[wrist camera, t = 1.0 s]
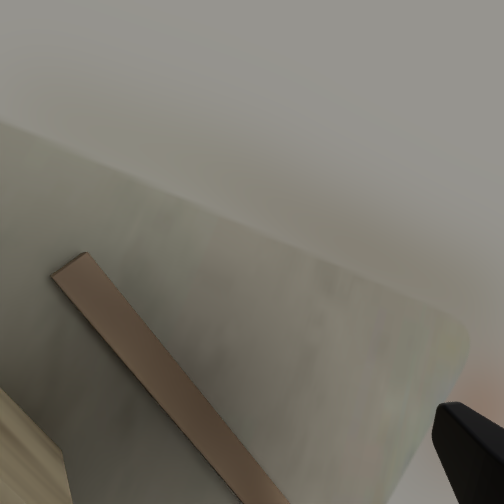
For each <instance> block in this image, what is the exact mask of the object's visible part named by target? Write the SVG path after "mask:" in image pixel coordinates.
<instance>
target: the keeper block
mask: <svg viewBox="0 0 504 504" xmlns="http://www.w3.org/2000/svg"><path fill="white" fill-rule="evenodd" d="M0 504H73V502H72V498H71V493H70V488H69V483H68V479H67V474H66V469H65V464H64V460H63V455H62V450H61V449H60V448H59V447H58V446H57V445H56V444H55V443H54V442H53V441H52V440H51V439H50V438H49V437H48V436H47V435H46V434H45V433H44V432H43V431H42V430H41V429H40V428H39V427H38V426H37V425H36V424H35V423H34V422H33V421H32V420H31V419H30V418H29V417H28V416H27V414H26V413H25V412H24V411H23V410H22V409H21V408H20V407H19V406H18V405H17V404H16V403H15V402H14V401H13V400H12V399H11V398H10V397H9V396H8V395H7V394H6V393H5V392H4V391H3V390H2V389H1V388H0Z"/></svg>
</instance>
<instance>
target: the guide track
mask: <svg viewBox="0 0 504 504" xmlns="http://www.w3.org/2000/svg"><path fill="white" fill-rule="evenodd" d="M50 277H51V278H52V279H53V280H54V281H55V283H56V284H57V285H58V286H59V287H60V288H61V290H62V291H63V292H64V293H65V294H66V296H67V297H68V298H69V299H70V300H71V301H72V303H73V304H74V305H75V306H76V307H77V308H78V310H79V311H80V312H81V313H82V314H83V316H84V317H85V318H86V319H87V320H88V321H89V323H90V324H91V325H92V326H93V327H94V328H95V330H96V331H97V332H98V333H99V334H100V336H101V337H102V338H103V339H104V340H105V341H106V343H107V344H108V345H109V346H110V347H111V348H112V350H113V351H114V352H115V353H116V354H117V356H118V357H119V358H120V359H121V360H122V361H123V363H124V364H125V365H126V366H127V367H128V368H129V370H130V371H131V372H132V373H133V374H134V376H135V377H136V378H137V379H138V380H139V381H140V383H141V384H142V385H143V386H144V387H145V389H146V390H147V391H148V392H149V393H150V394H151V396H152V397H153V398H154V399H155V400H156V401H157V403H158V404H159V405H160V406H161V407H162V409H163V410H164V411H165V412H166V413H167V414H168V416H169V417H170V418H171V419H172V420H173V421H174V423H175V424H176V425H177V426H178V427H179V429H180V430H181V431H182V432H183V433H184V434H185V436H186V437H187V438H188V439H189V440H190V441H191V443H192V444H193V445H194V446H195V447H196V449H197V450H198V451H199V452H200V453H201V454H202V456H203V457H204V458H205V459H206V460H207V461H208V463H209V464H210V465H211V466H212V467H213V469H214V470H215V471H216V472H217V473H218V474H219V476H220V477H221V478H222V479H223V480H224V482H225V483H226V484H227V485H228V486H229V487H230V489H231V490H232V491H233V492H234V493H235V494H236V496H237V497H238V498H239V499H240V500H241V502H242V503H243V504H290V503H289V502H288V500H287V499H286V498H285V497H284V495H283V494H282V493H281V492H280V490H279V489H278V488H277V487H276V485H275V484H274V483H273V482H272V480H271V479H270V478H269V477H268V475H267V474H266V473H265V472H264V470H263V469H262V468H261V467H260V466H259V464H258V463H257V462H256V461H255V459H254V458H253V457H252V456H251V454H250V453H249V452H248V451H247V449H246V448H245V447H244V446H243V444H242V443H241V442H240V441H239V439H238V438H237V437H236V436H235V434H234V433H233V432H232V431H231V429H230V428H229V427H228V426H227V425H226V423H225V422H224V421H223V420H222V418H221V417H220V416H219V415H218V413H217V412H216V411H215V410H214V408H213V407H212V406H211V405H210V403H209V402H208V401H207V400H206V398H205V397H204V396H203V395H202V393H201V392H200V391H199V390H198V388H197V387H196V386H195V385H194V384H193V382H192V381H191V380H190V379H189V377H188V376H187V375H186V374H185V372H184V371H183V370H182V369H181V367H180V366H179V365H178V364H177V362H176V361H175V360H174V359H173V357H172V356H171V355H170V354H169V352H168V351H167V350H166V349H165V347H164V346H163V345H162V344H161V343H160V341H159V340H158V339H157V338H156V336H155V335H154V334H153V333H152V331H151V330H150V329H149V328H148V326H147V325H146V324H145V323H144V321H143V320H142V319H141V318H140V316H139V315H138V314H137V313H136V311H135V310H134V309H133V308H132V306H131V305H130V304H129V303H128V302H127V300H126V299H125V298H124V297H123V295H122V294H121V293H120V292H119V290H118V289H117V288H116V287H115V285H114V284H113V283H112V282H111V280H110V279H109V278H108V277H107V275H106V274H105V273H104V272H103V270H102V269H101V268H100V267H99V265H98V264H97V263H96V262H95V261H94V259H93V258H92V257H91V256H90V254H89V253H88V252H83V253H81V254H80V255H79V256H77V257H76V258H74V259H73V260H72V261H70V262H69V263H67V264H66V265H65V266H63V267H62V268H60V269H59V270H58V271H56V272H55V273H53V274H52V275H50Z"/></svg>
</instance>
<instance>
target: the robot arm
mask: <svg viewBox="0 0 504 504" xmlns="http://www.w3.org/2000/svg"><path fill="white" fill-rule="evenodd" d="M432 441H433V445H434V447H435V449H436V452H437V454H438V456H439V459H440V461H441V463H442V466H443V468H444V470H445V473H446V475H447V477H448V480H449V482H450V484H451V486H452V489H453V491H454V494H455V496H456V498H457V500H458V502H459V504H504V428H502V427H500V426H499V425H497V424H496V423H493V422H492V421H491V420H489V419H487V418H486V417H484V416H482V415H481V414H479V413H477V412H476V411H474V410H472V409H471V408H469V407H467V406H466V405H464V404H462V403H460V402H447V403H441V404H439V405H438V407H437V409H436V414H435V419H434V424H433V429H432Z"/></svg>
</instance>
